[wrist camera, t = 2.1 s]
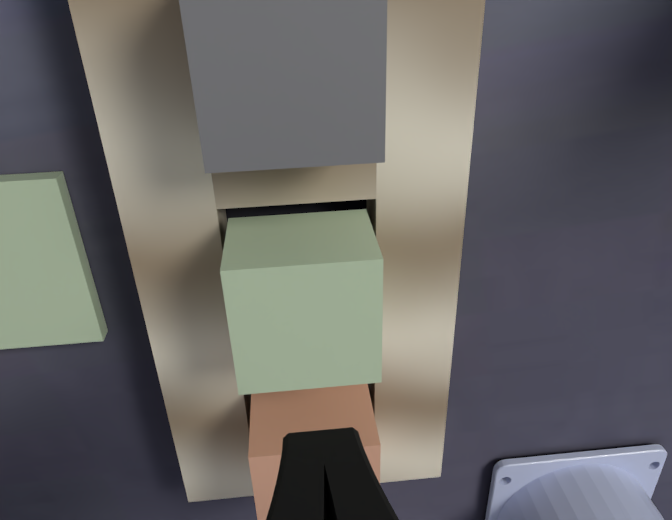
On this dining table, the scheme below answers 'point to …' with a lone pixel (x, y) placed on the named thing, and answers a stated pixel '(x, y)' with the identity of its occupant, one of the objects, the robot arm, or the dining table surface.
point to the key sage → (303, 300)
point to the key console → (284, 189)
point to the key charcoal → (287, 82)
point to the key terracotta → (304, 429)
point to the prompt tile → (44, 266)
